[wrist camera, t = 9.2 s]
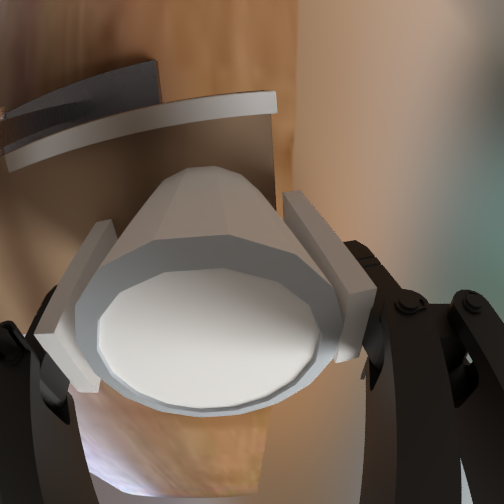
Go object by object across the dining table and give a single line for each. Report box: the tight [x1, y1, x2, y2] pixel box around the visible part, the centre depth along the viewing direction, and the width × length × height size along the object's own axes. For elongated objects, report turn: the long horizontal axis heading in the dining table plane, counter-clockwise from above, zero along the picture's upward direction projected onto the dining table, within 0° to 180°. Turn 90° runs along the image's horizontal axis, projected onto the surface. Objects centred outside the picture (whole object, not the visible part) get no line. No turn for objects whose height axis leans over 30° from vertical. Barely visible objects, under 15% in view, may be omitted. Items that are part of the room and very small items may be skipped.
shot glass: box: [75, 166, 344, 417], centre depth 10 cm, size 7×7×7 cm
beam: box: [0, 90, 277, 334], centre depth 12 cm, size 28×11×4 cm, turn 94°
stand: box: [0, 60, 163, 154], centre depth 18 cm, size 16×18×13 cm
